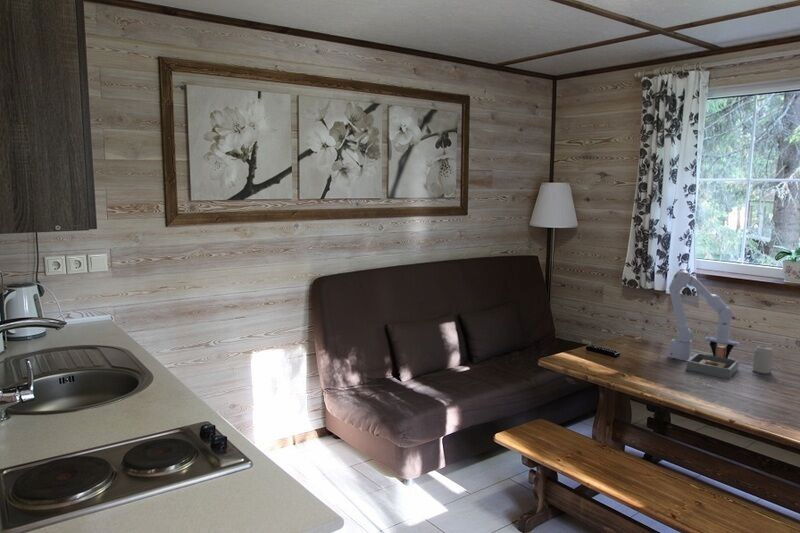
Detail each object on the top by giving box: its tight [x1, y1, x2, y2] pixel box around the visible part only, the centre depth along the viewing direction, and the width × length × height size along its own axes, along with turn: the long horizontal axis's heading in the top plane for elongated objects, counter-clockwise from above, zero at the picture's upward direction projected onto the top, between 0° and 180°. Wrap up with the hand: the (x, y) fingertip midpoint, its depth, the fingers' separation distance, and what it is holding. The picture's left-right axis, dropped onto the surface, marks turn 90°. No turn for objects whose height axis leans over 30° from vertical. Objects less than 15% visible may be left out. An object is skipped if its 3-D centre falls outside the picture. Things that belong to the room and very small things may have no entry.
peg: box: [716, 345, 726, 358], centre depth 290 cm, size 4×4×8 cm
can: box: [752, 345, 774, 375], centre depth 277 cm, size 8×8×12 cm
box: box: [686, 352, 740, 380], centre depth 278 cm, size 18×18×4 cm
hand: (720, 358), depth 290 cm, fingers open, 5 cm apart
